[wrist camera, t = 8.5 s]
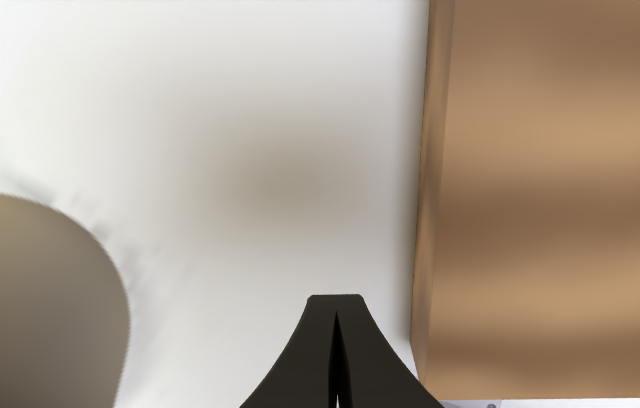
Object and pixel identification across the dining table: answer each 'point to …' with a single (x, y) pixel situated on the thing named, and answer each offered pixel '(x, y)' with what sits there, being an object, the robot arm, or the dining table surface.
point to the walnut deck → (529, 201)
